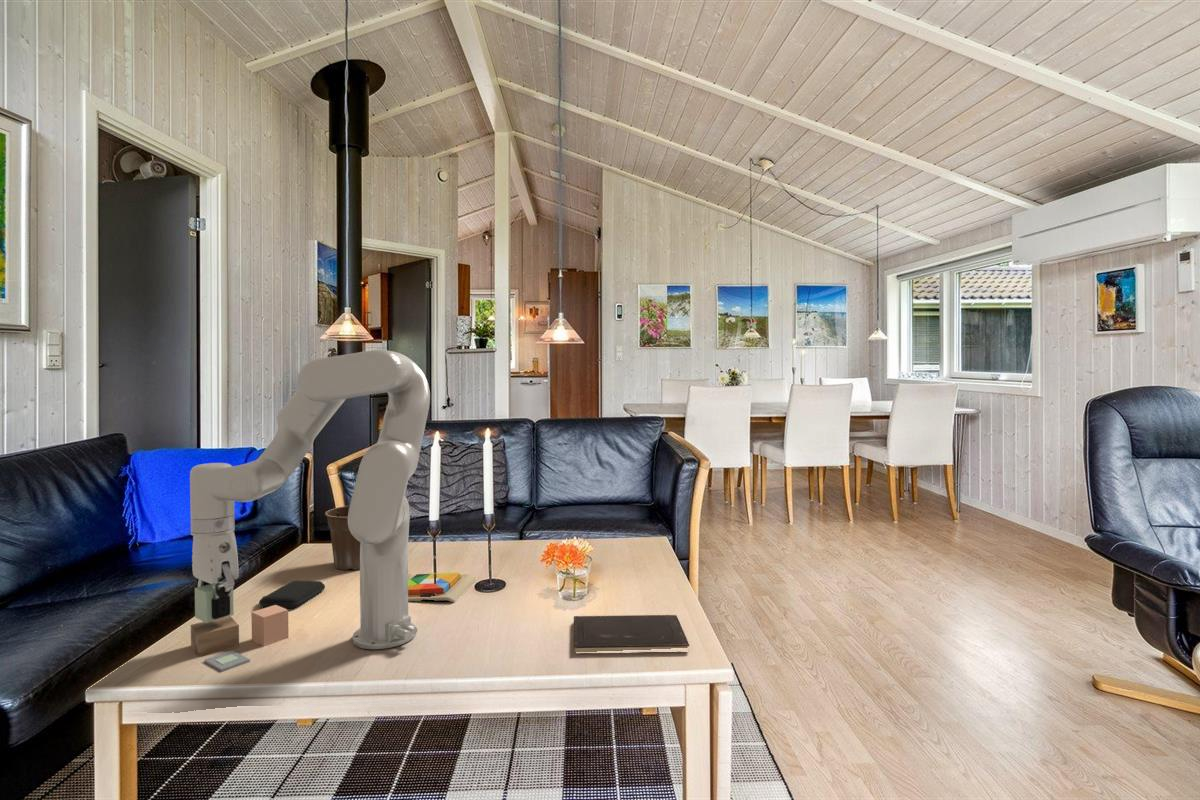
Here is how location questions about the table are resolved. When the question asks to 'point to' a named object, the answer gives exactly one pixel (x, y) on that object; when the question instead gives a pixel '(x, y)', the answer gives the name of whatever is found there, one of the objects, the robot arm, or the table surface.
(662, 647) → the hardcover book
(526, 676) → the table surface
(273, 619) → the terracotta block
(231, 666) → the card
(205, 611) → the sage block
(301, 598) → the carrying case or bag
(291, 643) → the table surface
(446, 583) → the wooden puzzle
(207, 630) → the walnut base
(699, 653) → the table surface
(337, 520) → the plant pot
